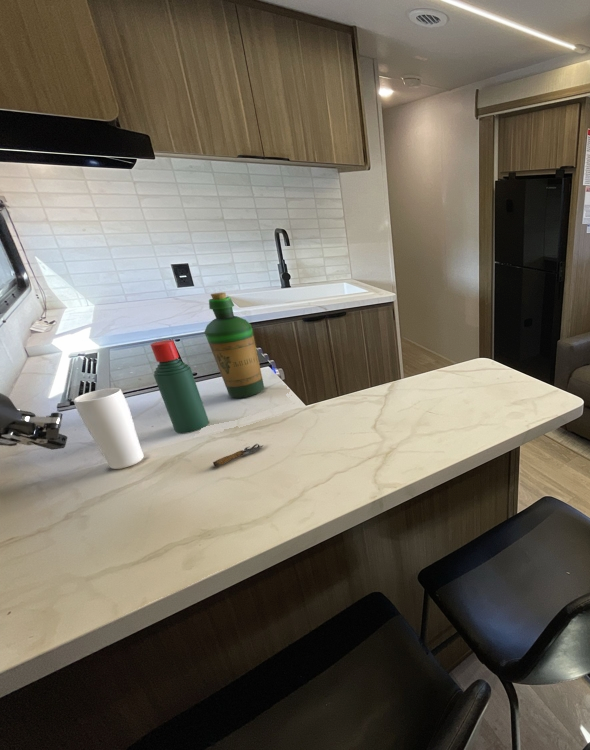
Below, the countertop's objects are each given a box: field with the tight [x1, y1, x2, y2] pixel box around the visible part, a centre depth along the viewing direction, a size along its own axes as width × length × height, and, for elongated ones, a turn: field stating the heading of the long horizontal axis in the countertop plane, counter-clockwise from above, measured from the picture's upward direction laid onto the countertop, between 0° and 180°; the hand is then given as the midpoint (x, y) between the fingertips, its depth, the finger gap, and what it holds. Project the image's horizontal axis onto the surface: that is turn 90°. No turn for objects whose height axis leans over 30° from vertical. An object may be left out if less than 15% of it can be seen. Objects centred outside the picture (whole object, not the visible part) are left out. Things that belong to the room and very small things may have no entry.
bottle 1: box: [153, 358, 210, 434], centre depth 91 cm, size 7×7×20 cm
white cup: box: [73, 387, 145, 470], centre depth 78 cm, size 7×7×15 cm
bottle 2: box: [204, 292, 265, 399], centre depth 109 cm, size 11×11×28 cm
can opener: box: [212, 443, 263, 468], centre depth 80 cm, size 9×2×1 cm, turn 140°
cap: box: [150, 339, 180, 363], centre depth 88 cm, size 4×4×4 cm
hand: (61, 443), depth 67 cm, fingers closed
